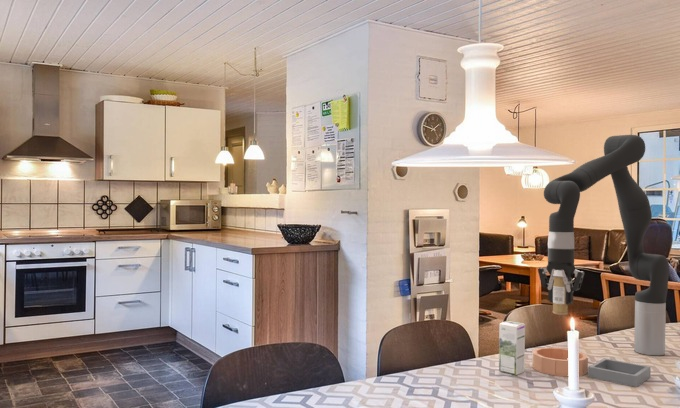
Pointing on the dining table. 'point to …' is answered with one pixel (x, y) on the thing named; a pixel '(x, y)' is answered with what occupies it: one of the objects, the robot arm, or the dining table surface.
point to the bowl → (556, 361)
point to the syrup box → (512, 347)
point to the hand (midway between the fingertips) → (560, 302)
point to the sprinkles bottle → (559, 294)
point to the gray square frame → (619, 372)
